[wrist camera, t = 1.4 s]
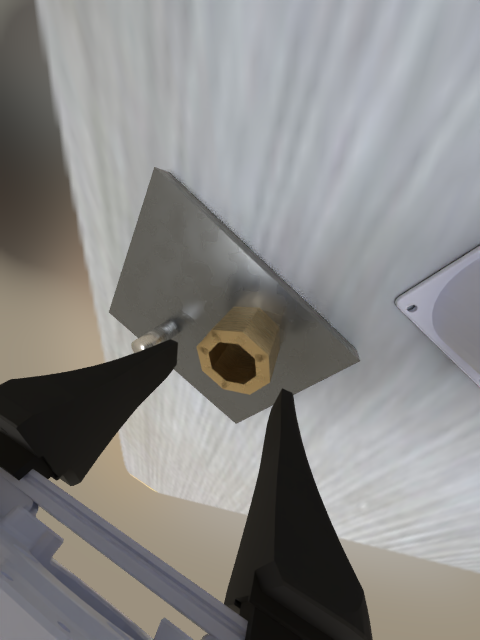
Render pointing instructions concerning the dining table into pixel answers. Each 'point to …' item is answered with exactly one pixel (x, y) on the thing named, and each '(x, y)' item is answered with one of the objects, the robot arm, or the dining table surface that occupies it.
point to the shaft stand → (215, 298)
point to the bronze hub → (241, 350)
